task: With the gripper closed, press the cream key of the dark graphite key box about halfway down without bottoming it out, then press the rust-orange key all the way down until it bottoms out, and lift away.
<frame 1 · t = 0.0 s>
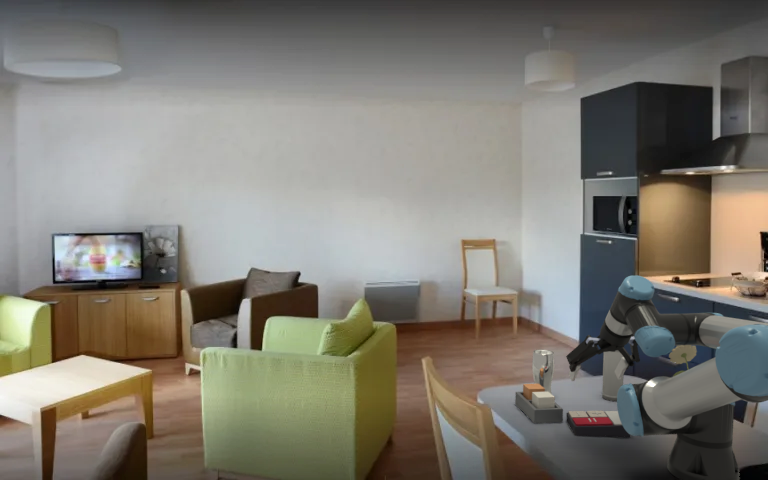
hand: (594, 376, 169), 15 cm above the table, tool tilted 35°, fingers open, 13 cm apart
cream key: (543, 401, 179), point 5 cm above the table, slide at 0.0 cm
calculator: (597, 431, 171), on the table
flower in vase: (691, 431, 170), on the table
travel mug: (611, 398, 197), on the table
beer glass: (542, 397, 198), on the table
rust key: (533, 392, 187), point 5 cm above the table, slide at 0.0 cm
key housing: (537, 412, 183), on the table
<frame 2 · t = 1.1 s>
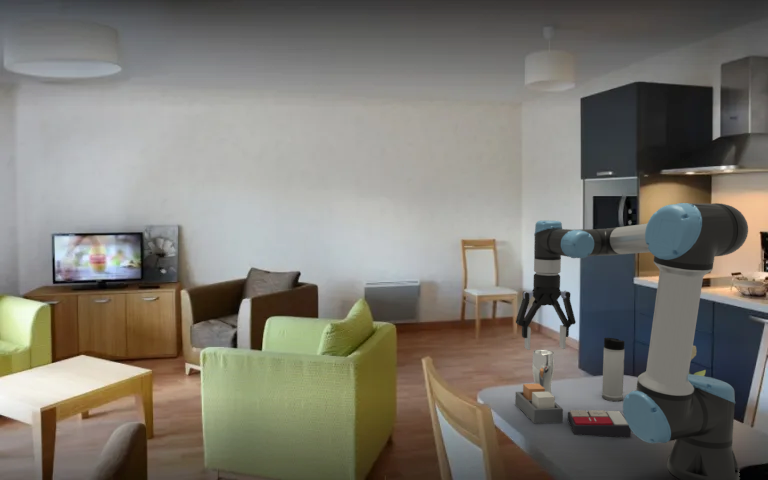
hand: (544, 348, 178), 21 cm above the table, tool pointing down, fingers open, 10 cm apart
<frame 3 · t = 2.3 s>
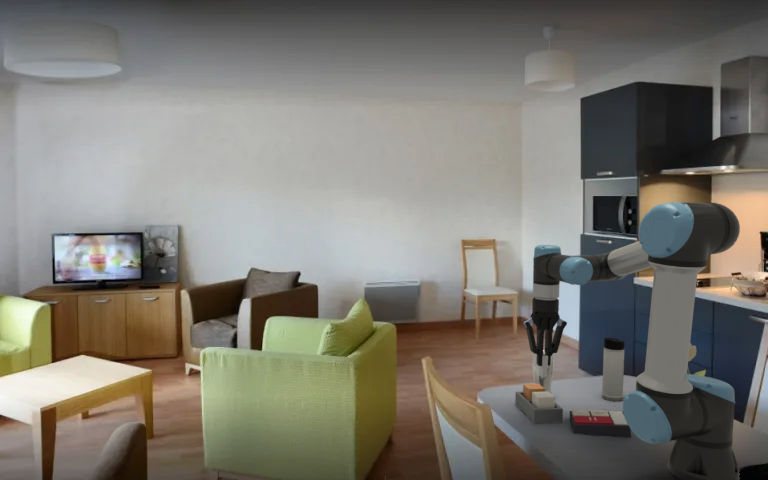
hand: (543, 376, 179), 12 cm above the table, tool pointing down, fingers closed
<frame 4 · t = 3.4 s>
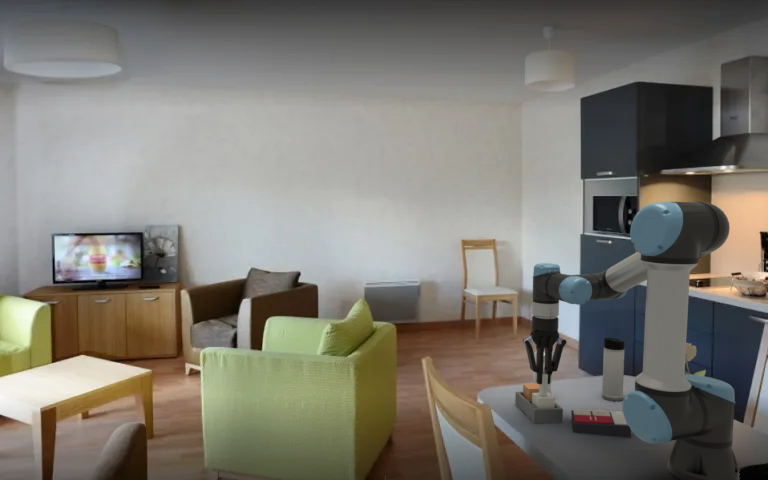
hand: (543, 394, 179), 7 cm above the table, tool pointing down, fingers closed
cream key: (543, 401, 179), point 5 cm above the table, slide at 0.3 cm, touching gripper
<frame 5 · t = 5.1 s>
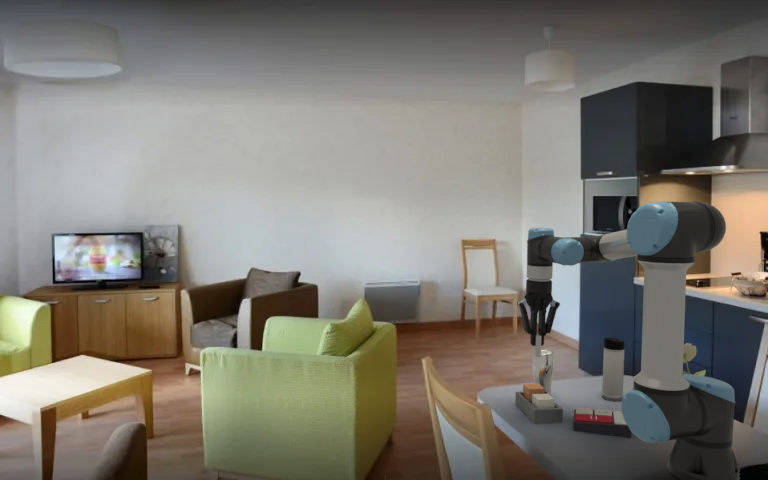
hand: (536, 355, 184), 17 cm above the table, tool pointing down, fingers closed
cream key: (543, 403, 179), point 4 cm above the table, slide at 0.7 cm
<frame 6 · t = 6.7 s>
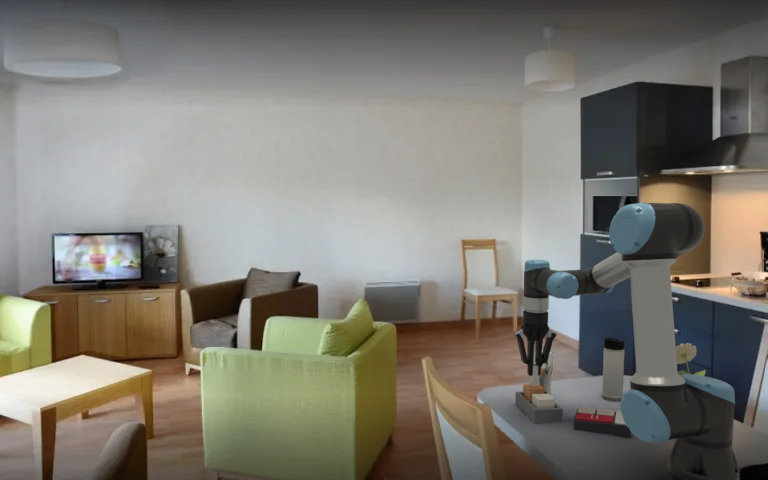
hand: (533, 385, 187), 7 cm above the table, tool pointing down, fingers closed
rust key: (533, 392, 187), point 5 cm above the table, slide at 0.0 cm, touching gripper
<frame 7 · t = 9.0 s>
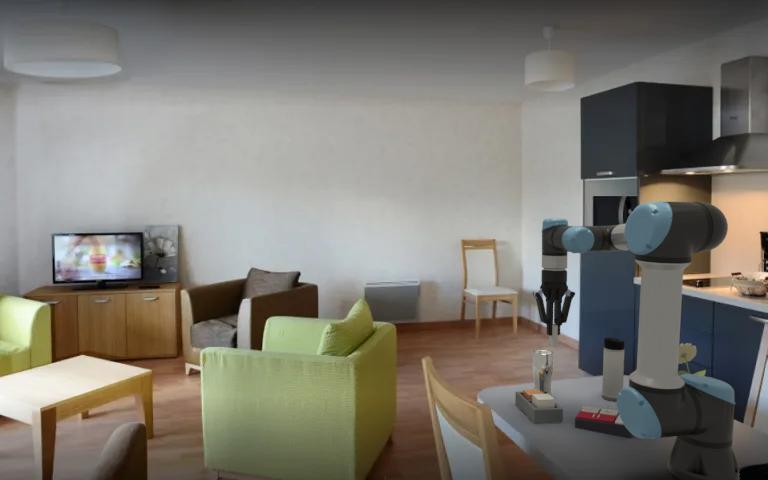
hand: (553, 345, 185), 20 cm above the table, tool pointing down, fingers closed
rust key: (533, 398, 187), point 3 cm above the table, slide at 1.8 cm
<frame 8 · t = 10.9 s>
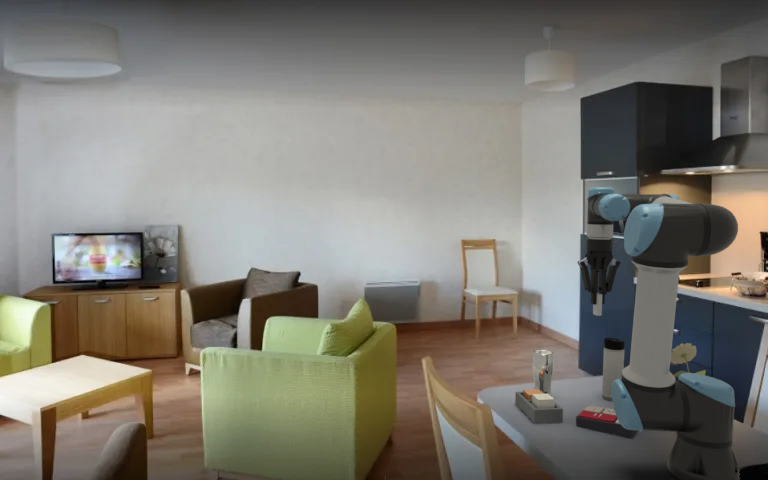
hand: (597, 314, 185), 29 cm above the table, tool pointing down, fingers closed
at the end: cream key slide at 0.7 cm; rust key slide at 1.8 cm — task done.
